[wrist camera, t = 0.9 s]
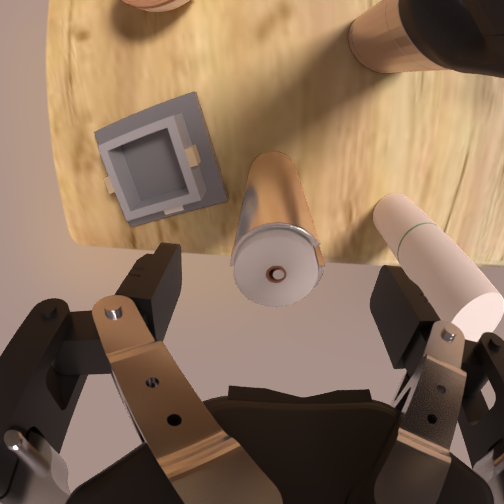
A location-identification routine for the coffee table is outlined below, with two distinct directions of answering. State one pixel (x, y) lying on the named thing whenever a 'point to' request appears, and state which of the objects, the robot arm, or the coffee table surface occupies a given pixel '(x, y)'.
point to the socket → (161, 161)
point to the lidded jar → (156, 4)
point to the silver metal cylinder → (275, 236)
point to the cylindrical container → (439, 267)
